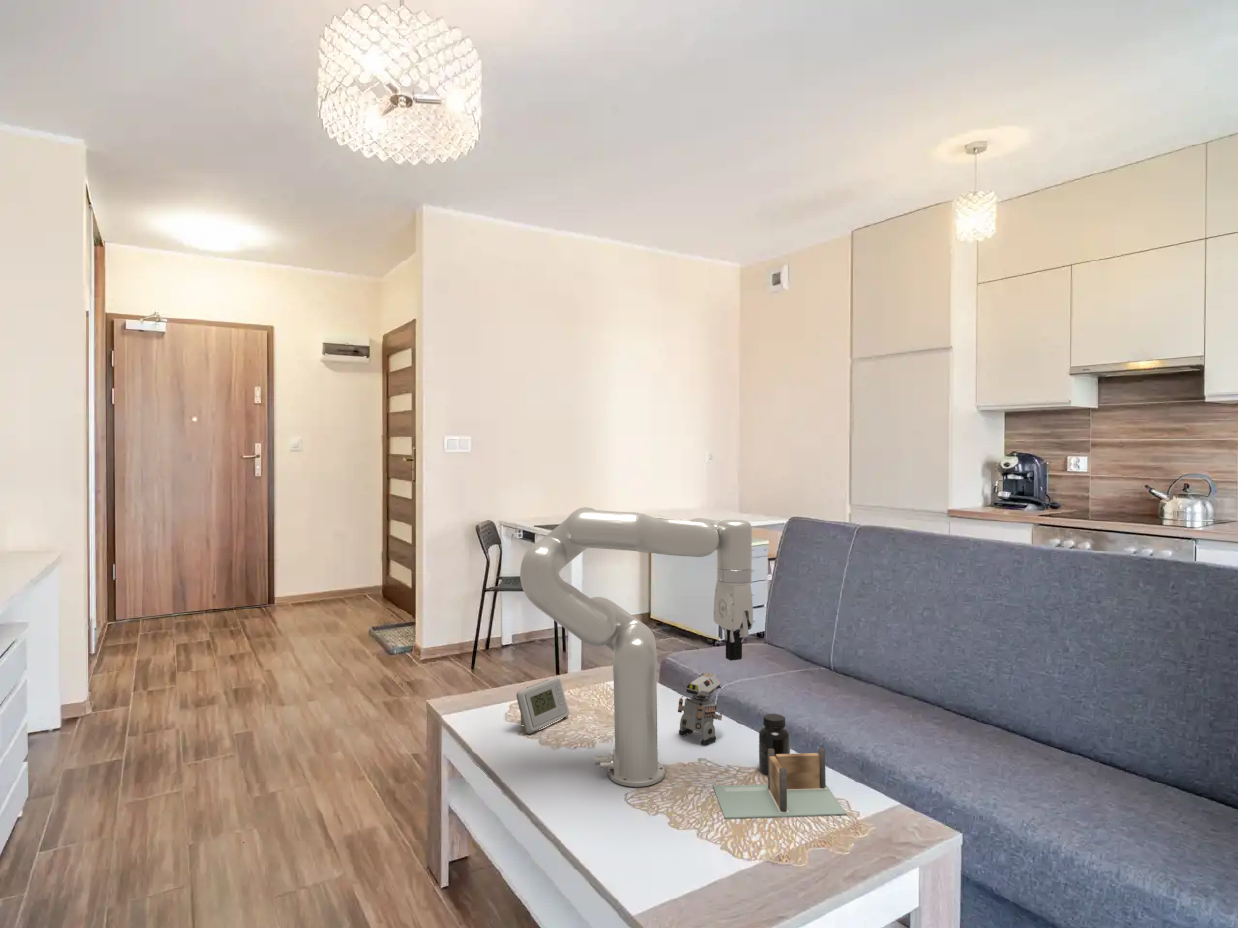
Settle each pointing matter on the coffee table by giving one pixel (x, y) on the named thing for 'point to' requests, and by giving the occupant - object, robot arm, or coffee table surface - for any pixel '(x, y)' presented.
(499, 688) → the coffee table surface
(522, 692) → the digital clock
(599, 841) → the coffee table surface
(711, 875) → the coffee table surface
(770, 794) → the board
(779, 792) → the panel
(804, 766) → the fence fixed panel
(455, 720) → the coffee table surface
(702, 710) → the figurine
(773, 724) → the supplement bottle
